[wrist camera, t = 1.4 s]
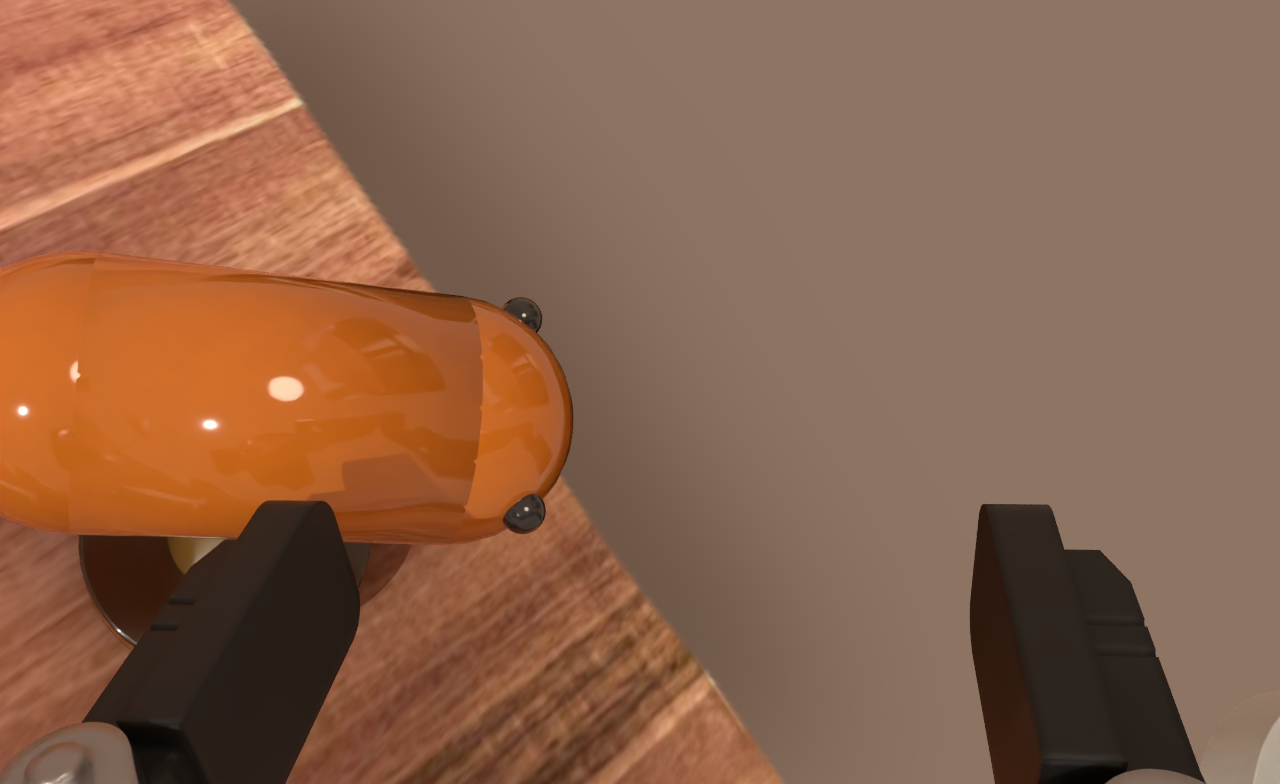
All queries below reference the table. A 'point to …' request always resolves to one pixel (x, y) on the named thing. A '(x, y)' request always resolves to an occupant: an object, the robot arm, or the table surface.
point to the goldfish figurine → (261, 414)
